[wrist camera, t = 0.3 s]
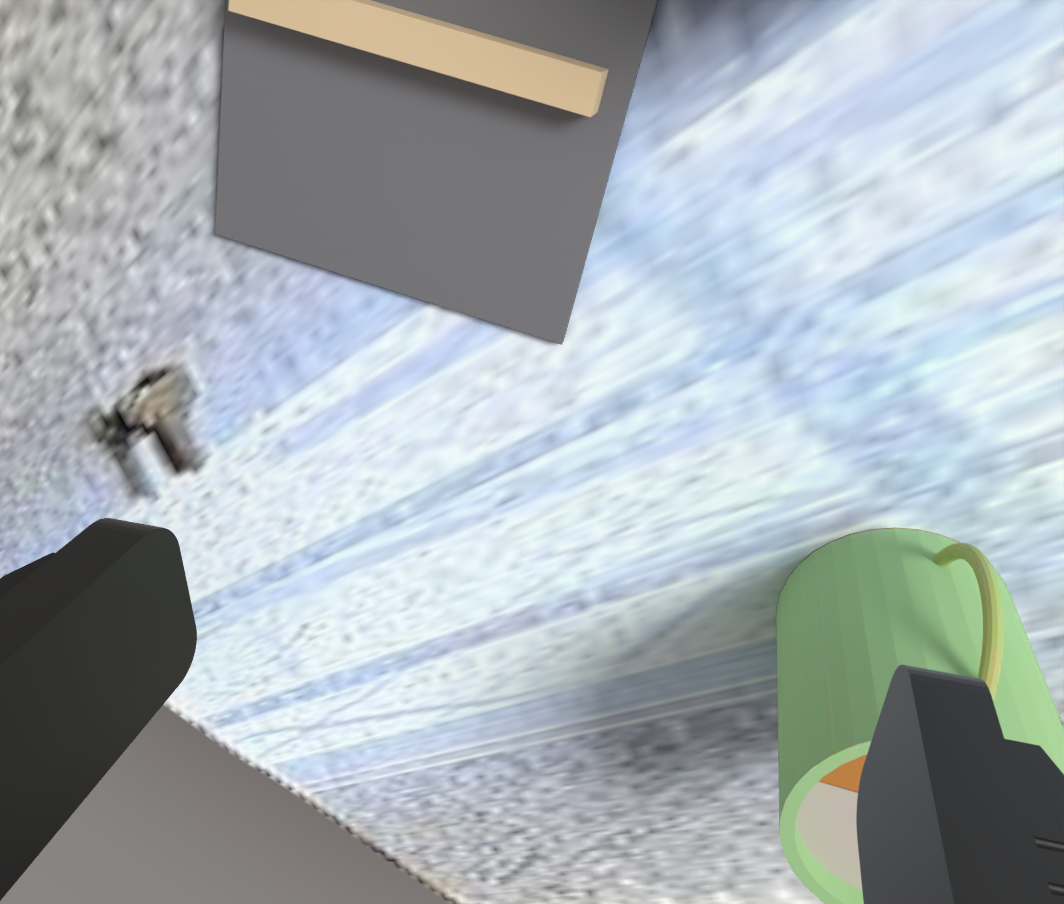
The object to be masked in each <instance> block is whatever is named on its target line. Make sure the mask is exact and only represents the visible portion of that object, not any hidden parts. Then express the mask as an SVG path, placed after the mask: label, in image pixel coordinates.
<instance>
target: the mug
mask: <svg viewBox="0 0 1064 904" xmlns="http://www.w3.org/2000/svg"><path fill="white" fill-rule="evenodd" d="M776 637H777V699H778V760H779V822H780V839H781V843H782V847H783V852H784V855H785V857H786V859H787V860H788V862H789V864H790V866H791V868H792V870H793V872H794V873H795V874H796V875H797V877H798V878H799V879H800V880H801V882H802V883H803V884H804V885H805V887H806V888H808V889H809V890H810V891H811V892H812V893H813V894H814V895H815V896H817V897H818V898H819V899H820V900H821V901H822V902H824V903H825V904H864V901H863V891H862V881H861V871H860V861H859V851H858V840H857V825H856V814H857V798H858V790H859V783H860V778H861V773H862V769H863V766H864V762H865V759H866V756H867V753H868V750H869V747H870V744H871V741H872V738H873V735H874V732H875V728H876V725H877V722H878V719H879V716H880V713H881V710H882V707H883V704H884V701H885V698H886V694H887V691H888V688H889V685H890V682H891V679H892V677H893V674H894V672H895V670H896V669H897V667H898V666H900V665H908V666H914V667H919V668H925V669H930V670H936V671H941V672H947V673H952V674H958V675H963V676H969V677H974V678H980V679H982V680H983V681H984V682H985V683H986V684H987V686H988V688H989V690H990V693H991V696H992V699H993V703H994V706H995V709H996V713H997V716H998V719H999V723H1000V726H1001V729H1002V733H1003V736H1004V739H1008V740H1013V741H1019V742H1024V743H1029V744H1034V745H1039V746H1041V748H1042V749H1043V750H1044V751H1045V752H1046V754H1047V755H1048V756H1049V757H1050V758H1051V760H1052V761H1053V762H1054V763H1055V765H1056V766H1057V767H1058V768H1059V769H1060V771H1061V772H1062V773H1063V774H1064V726H1063V723H1062V721H1061V718H1060V716H1059V713H1058V711H1057V708H1056V706H1055V704H1054V701H1053V699H1052V696H1051V694H1050V691H1049V689H1048V686H1047V684H1046V681H1045V679H1044V676H1043V674H1042V671H1041V669H1040V666H1039V664H1038V661H1037V659H1036V656H1035V654H1034V651H1033V649H1032V646H1031V644H1030V642H1029V639H1028V637H1027V634H1026V632H1025V629H1024V627H1023V624H1022V622H1021V619H1020V617H1019V614H1018V612H1017V609H1016V607H1015V604H1014V602H1013V599H1012V597H1011V595H1010V592H1009V590H1008V588H1007V586H1006V584H1005V582H1004V580H1003V578H1002V577H1001V576H1000V575H999V573H998V572H997V571H996V569H995V568H994V567H993V566H992V565H991V564H990V563H989V561H988V559H987V558H986V556H985V555H984V554H983V553H982V552H981V551H980V550H979V549H978V548H976V547H974V546H972V545H970V544H967V543H960V542H958V541H956V540H953V539H951V538H948V537H945V536H943V535H940V534H936V533H932V532H927V531H922V530H918V529H905V528H885V529H872V530H867V531H863V532H858V533H854V534H850V535H847V536H845V537H842V538H839V539H837V540H834V541H832V542H830V543H828V544H826V545H824V546H823V547H821V548H819V549H818V550H816V551H814V552H813V553H812V554H810V555H809V556H808V557H807V558H806V559H804V560H803V561H802V562H801V563H800V564H799V565H798V566H797V567H796V568H795V570H794V571H793V572H792V573H791V575H790V576H789V577H788V579H787V581H786V583H785V585H784V586H783V588H782V590H781V592H780V596H779V600H778V604H777V612H776Z"/></svg>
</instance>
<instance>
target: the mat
mask: <svg viewBox="0 0 1064 904" xmlns="http://www.w3.org/2000/svg"><path fill="white" fill-rule="evenodd" d="M657 1H658V0H226V1H225V23H224V46H223V68H222V91H221V113H220V135H219V158H218V180H217V203H216V225H215V234H217V235H220V236H224V237H227V238H230V239H233V240H236V241H239V242H242V243H245V244H249V245H252V246H255V247H258V248H261V249H264V250H267V251H271V252H274V253H277V254H280V255H283V256H286V257H289V258H292V259H296V260H299V261H302V262H305V263H308V264H311V265H314V266H317V267H321V268H324V269H327V270H330V271H333V272H336V273H339V274H342V275H346V276H349V277H352V278H355V279H358V280H361V281H364V282H368V283H371V284H374V285H377V286H380V287H383V288H386V289H389V290H393V291H396V292H399V293H402V294H405V295H408V296H411V297H414V298H418V299H421V300H424V301H427V302H430V303H433V304H436V305H439V306H443V307H446V308H449V309H452V310H455V311H458V312H461V313H465V314H468V315H471V316H474V317H477V318H480V319H483V320H486V321H490V322H493V323H496V324H499V325H502V326H505V327H508V328H511V329H515V330H518V331H521V332H524V333H527V334H530V335H533V336H536V337H540V338H543V339H546V340H549V341H552V342H555V343H558V344H561V345H562V343H563V341H564V337H565V334H566V330H567V327H568V323H569V319H570V316H571V312H572V308H573V305H574V301H575V298H576V294H577V290H578V287H579V283H580V280H581V276H582V272H583V269H584V265H585V261H586V258H587V254H588V251H589V247H590V243H591V240H592V236H593V232H594V229H595V225H596V222H597V218H598V214H599V211H600V207H601V204H602V200H603V196H604V193H605V189H606V185H607V182H608V178H609V175H610V171H611V167H612V164H613V160H614V157H615V153H616V149H617V146H618V142H619V138H620V135H621V131H622V128H623V124H624V120H625V117H626V113H627V109H628V106H629V102H630V99H631V95H632V91H633V88H634V84H635V81H636V77H637V73H638V70H639V66H640V62H641V59H642V55H643V52H644V48H645V44H646V41H647V37H648V34H649V30H650V26H651V23H652V19H653V15H654V12H655V8H656V5H657Z"/></svg>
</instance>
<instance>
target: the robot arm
mask: <svg viewBox="0 0 1064 904" xmlns="http://www.w3.org/2000/svg"><path fill="white" fill-rule="evenodd" d="M196 641H197V631H196V625H195V620H194V615H193V610H192V605H191V600H190V596H189V591H188V586H187V581H186V576H185V571H184V566H183V562H182V557H181V552H180V547H179V543H178V541H177V538H176V536H175V535H174V534H173V533H172V532H171V531H170V530H168V529H165V528H161V527H155V526H150V525H144V524H139V523H133V522H128V521H122V520H117V519H111V518H104V519H100V520H98V521H96V522H94V523H93V524H91V525H90V526H88V527H87V528H86V529H85V530H84V531H82V532H81V533H80V534H79V535H77V536H76V537H75V538H74V539H72V540H71V541H70V542H69V543H68V544H66V545H65V546H64V547H63V548H61V549H60V550H59V551H58V552H57V553H51V554H49V555H47V556H44V557H42V558H40V559H38V560H36V561H34V562H32V563H30V564H28V565H26V566H24V567H22V568H19V569H17V570H15V571H13V572H11V573H9V574H7V575H5V576H3V577H2V578H1V579H0V900H1V899H2V898H3V897H4V896H5V894H6V893H7V892H8V891H9V890H10V888H11V887H12V886H13V885H14V883H15V882H16V881H17V880H18V879H19V878H20V876H21V875H22V874H23V873H24V872H25V870H26V869H27V868H28V867H29V866H30V864H31V863H32V862H33V861H34V859H35V858H36V857H37V856H38V855H39V853H40V852H41V851H42V850H43V849H44V847H45V846H46V845H47V844H48V842H49V841H50V840H51V839H52V838H53V837H54V835H55V834H56V833H57V832H58V830H59V829H60V828H61V827H62V826H63V825H64V823H65V822H66V821H67V820H68V818H69V817H70V816H71V815H72V814H73V812H74V811H75V810H76V809H77V807H78V806H79V805H80V804H81V803H82V802H83V800H84V799H85V798H86V797H87V796H88V794H89V793H90V792H91V791H92V789H93V788H94V787H95V786H96V785H97V784H98V782H99V781H100V780H101V778H102V777H103V776H104V775H105V774H106V773H107V771H108V770H109V769H110V768H111V767H112V765H113V764H114V763H115V762H116V761H117V759H118V758H119V757H120V756H121V755H122V753H123V752H124V751H125V750H126V749H127V747H128V746H129V745H130V744H131V743H132V741H133V740H134V739H135V738H136V736H137V735H138V734H139V733H140V732H141V730H142V729H143V728H144V727H145V726H146V724H147V723H148V722H149V721H150V720H151V718H152V717H153V716H154V715H155V713H156V712H157V711H158V710H159V709H160V708H161V706H162V705H163V704H164V703H165V702H166V700H167V699H168V698H169V697H170V695H171V694H172V693H173V692H174V691H175V689H176V688H177V687H178V686H179V685H180V683H181V682H182V681H183V679H184V677H185V676H186V674H187V672H188V670H189V668H190V666H191V663H192V660H193V657H194V653H195V649H196ZM856 825H857V840H858V851H859V861H860V871H861V881H862V891H863V901H864V904H1064V774H1063V773H1062V772H1061V771H1060V769H1059V768H1058V767H1057V766H1056V765H1055V763H1054V762H1053V761H1052V760H1051V758H1050V757H1049V756H1048V755H1047V754H1046V752H1045V751H1044V750H1043V749H1042V748H1041V746H1039V745H1034V744H1029V743H1024V742H1019V741H1013V740H1008V739H1004V736H1003V733H1002V729H1001V726H1000V723H999V719H998V716H997V713H996V709H995V706H994V703H993V699H992V696H991V693H990V690H989V688H988V686H987V684H986V683H985V682H984V681H983V680H982V679H980V678H974V677H969V676H963V675H958V674H952V673H947V672H941V671H936V670H930V669H925V668H919V667H914V666H908V665H900V666H898V667H897V669H896V670H895V672H894V674H893V677H892V679H891V682H890V685H889V688H888V691H887V694H886V698H885V701H884V704H883V707H882V710H881V713H880V716H879V719H878V722H877V725H876V728H875V732H874V735H873V738H872V741H871V744H870V747H869V750H868V753H867V756H866V759H865V762H864V766H863V769H862V773H861V778H860V783H859V790H858V798H857V814H856Z"/></svg>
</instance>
